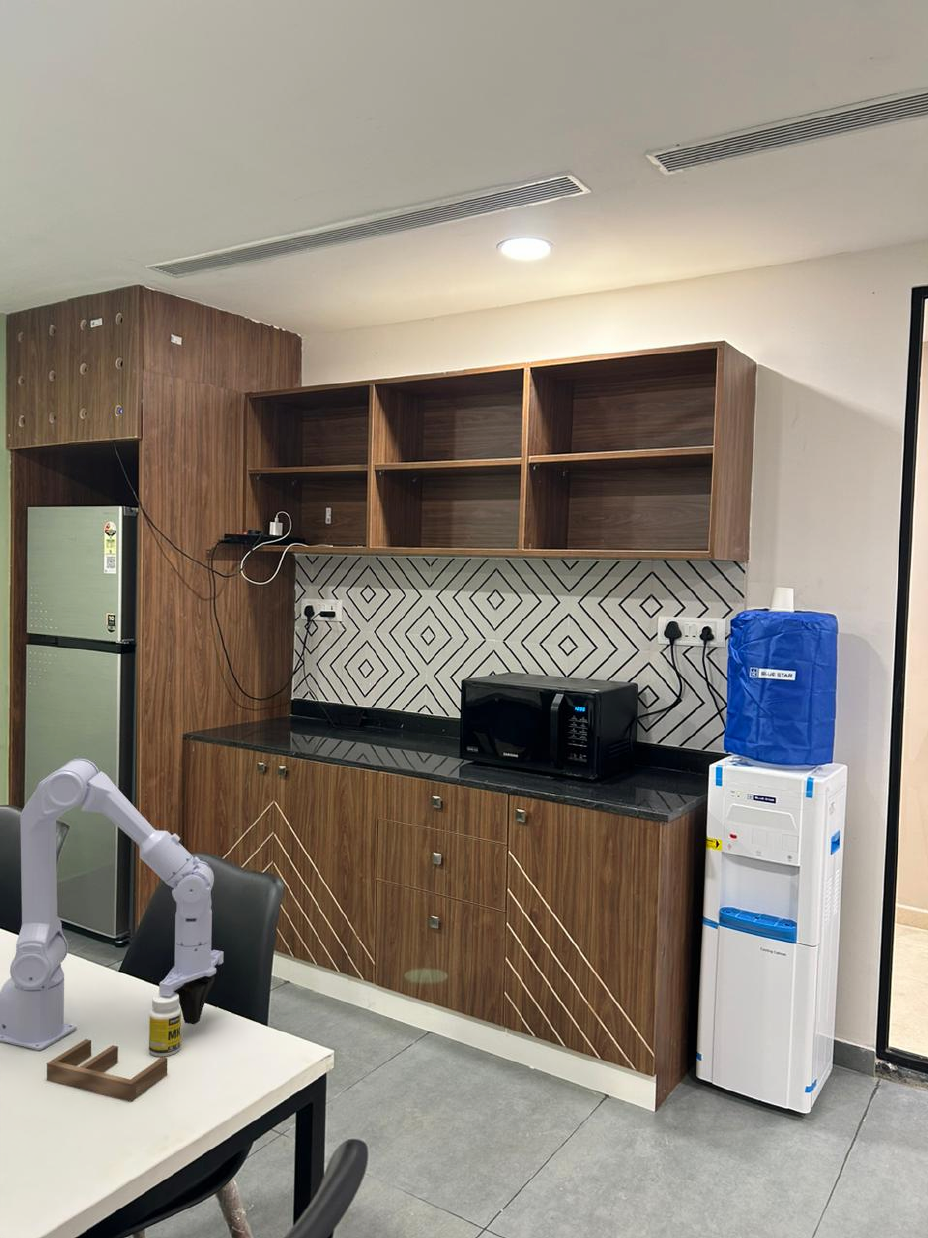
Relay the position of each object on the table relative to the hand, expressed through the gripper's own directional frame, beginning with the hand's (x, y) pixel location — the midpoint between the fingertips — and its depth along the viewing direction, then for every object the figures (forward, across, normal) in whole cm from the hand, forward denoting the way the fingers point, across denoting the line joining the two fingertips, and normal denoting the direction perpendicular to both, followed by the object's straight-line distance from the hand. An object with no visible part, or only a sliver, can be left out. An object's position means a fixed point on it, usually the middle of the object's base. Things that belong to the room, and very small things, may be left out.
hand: (191, 1022), depth 155 cm
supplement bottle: (+2, -7, 0) cm, 7 cm away
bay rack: (+1, -17, +3) cm, 17 cm away
